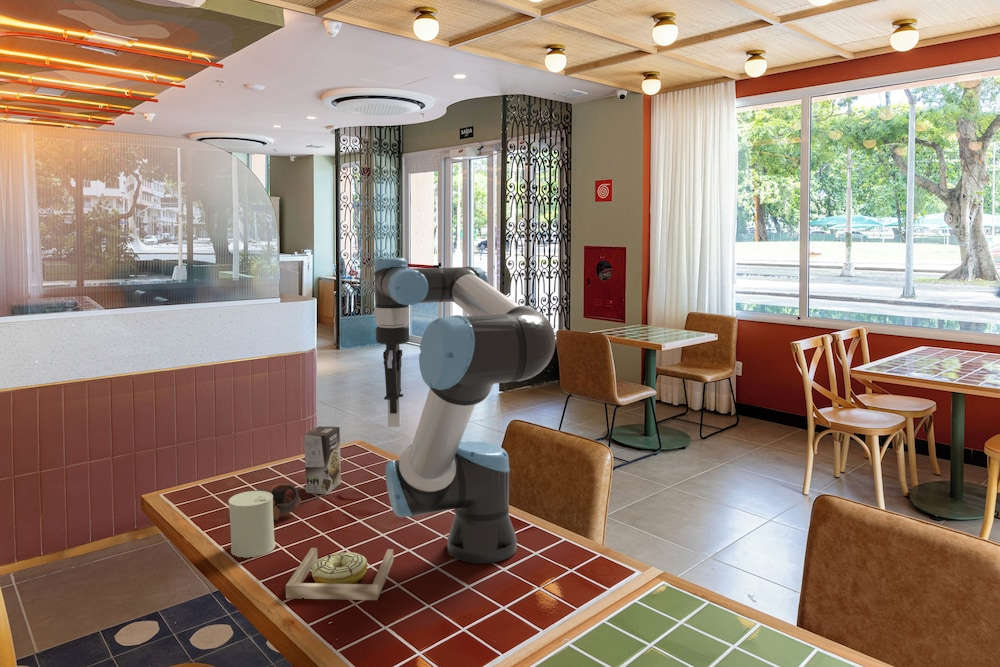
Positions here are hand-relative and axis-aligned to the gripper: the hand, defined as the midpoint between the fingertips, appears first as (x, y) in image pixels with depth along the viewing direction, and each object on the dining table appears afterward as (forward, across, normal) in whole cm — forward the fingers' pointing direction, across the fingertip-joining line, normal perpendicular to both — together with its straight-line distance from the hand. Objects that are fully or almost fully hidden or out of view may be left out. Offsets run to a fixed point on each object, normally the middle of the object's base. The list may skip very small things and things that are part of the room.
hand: (394, 425), depth 164 cm
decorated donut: (+24, +26, -8) cm, 37 cm away
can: (+24, +13, -30) cm, 40 cm away
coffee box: (+24, -24, -22) cm, 40 cm away
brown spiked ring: (+24, -7, -30) cm, 39 cm away
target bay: (+24, +26, -7) cm, 36 cm away
